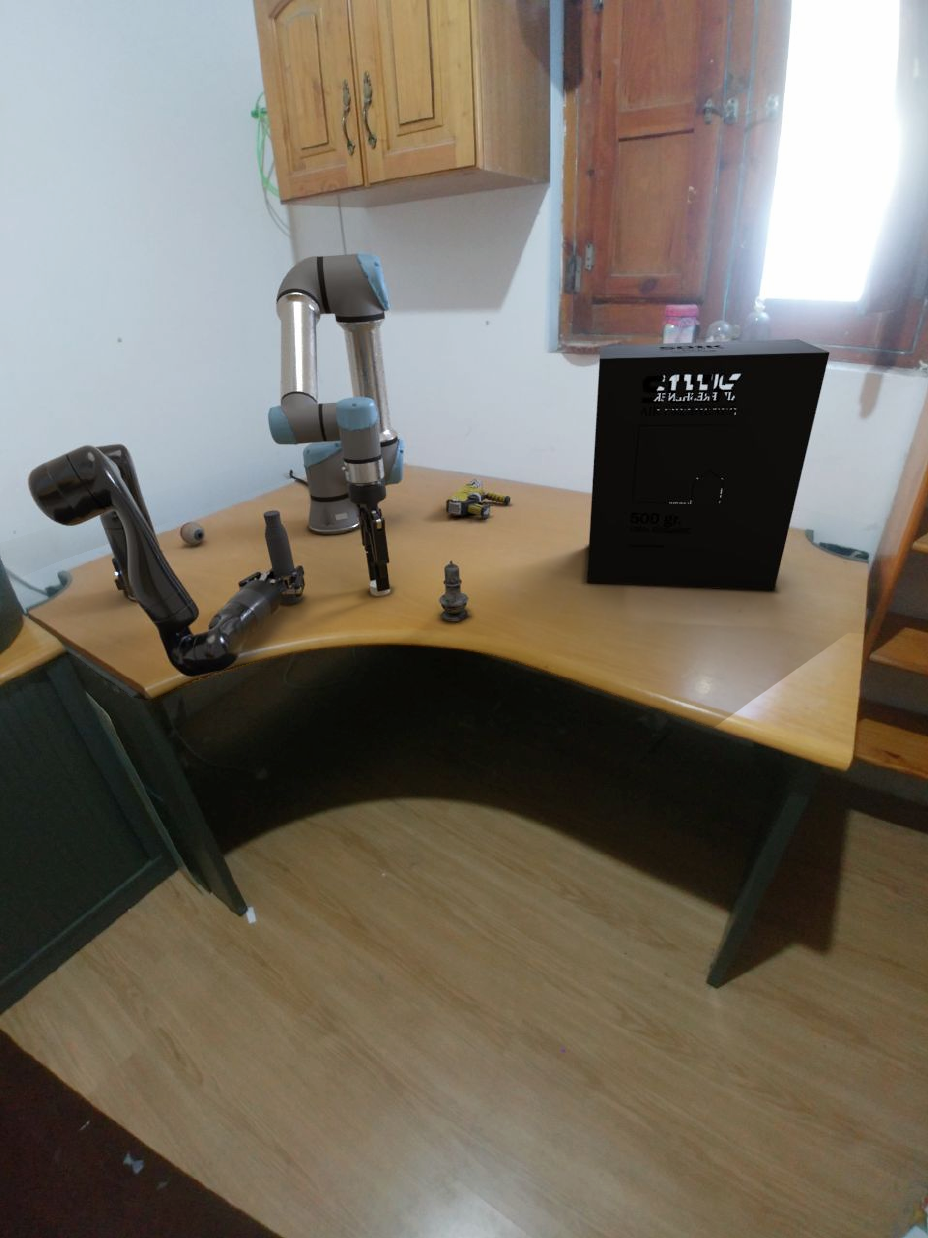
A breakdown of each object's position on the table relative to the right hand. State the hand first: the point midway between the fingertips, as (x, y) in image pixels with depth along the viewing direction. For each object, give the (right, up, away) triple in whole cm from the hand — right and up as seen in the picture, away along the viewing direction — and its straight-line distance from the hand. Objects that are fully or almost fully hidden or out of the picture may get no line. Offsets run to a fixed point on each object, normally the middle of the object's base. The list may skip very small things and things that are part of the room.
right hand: (379, 584), depth 132 cm
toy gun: (+24, +25, +45) cm, 57 cm away
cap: (0, 0, 0) cm, 0 cm away
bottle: (-19, -3, -1) cm, 20 cm away
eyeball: (-54, +12, +30) cm, 63 cm away
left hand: (-19, +3, -1) cm, 20 cm away
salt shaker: (+17, -7, -10) cm, 21 cm away
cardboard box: (+66, +4, +4) cm, 66 cm away
